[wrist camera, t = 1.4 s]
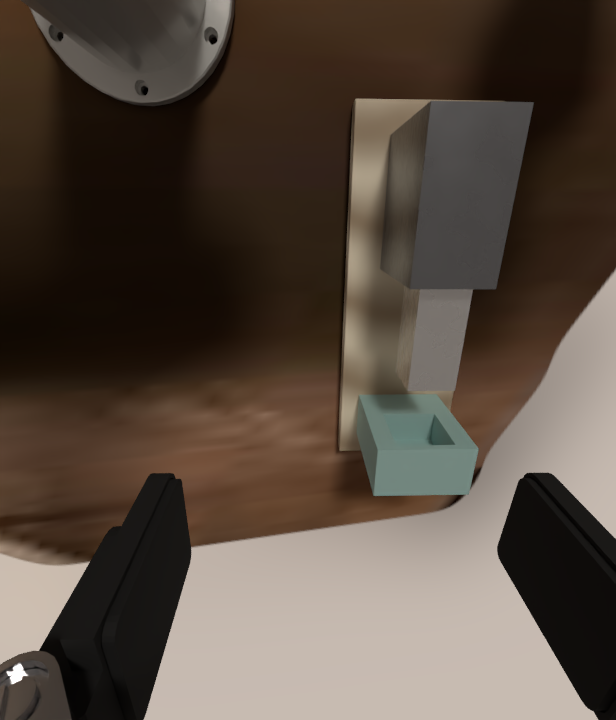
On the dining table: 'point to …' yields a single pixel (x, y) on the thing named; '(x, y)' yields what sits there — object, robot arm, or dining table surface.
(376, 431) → the socket block
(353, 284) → the base board
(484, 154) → the sleeve
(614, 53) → the dining table surface
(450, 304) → the tube
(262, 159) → the dining table surface
